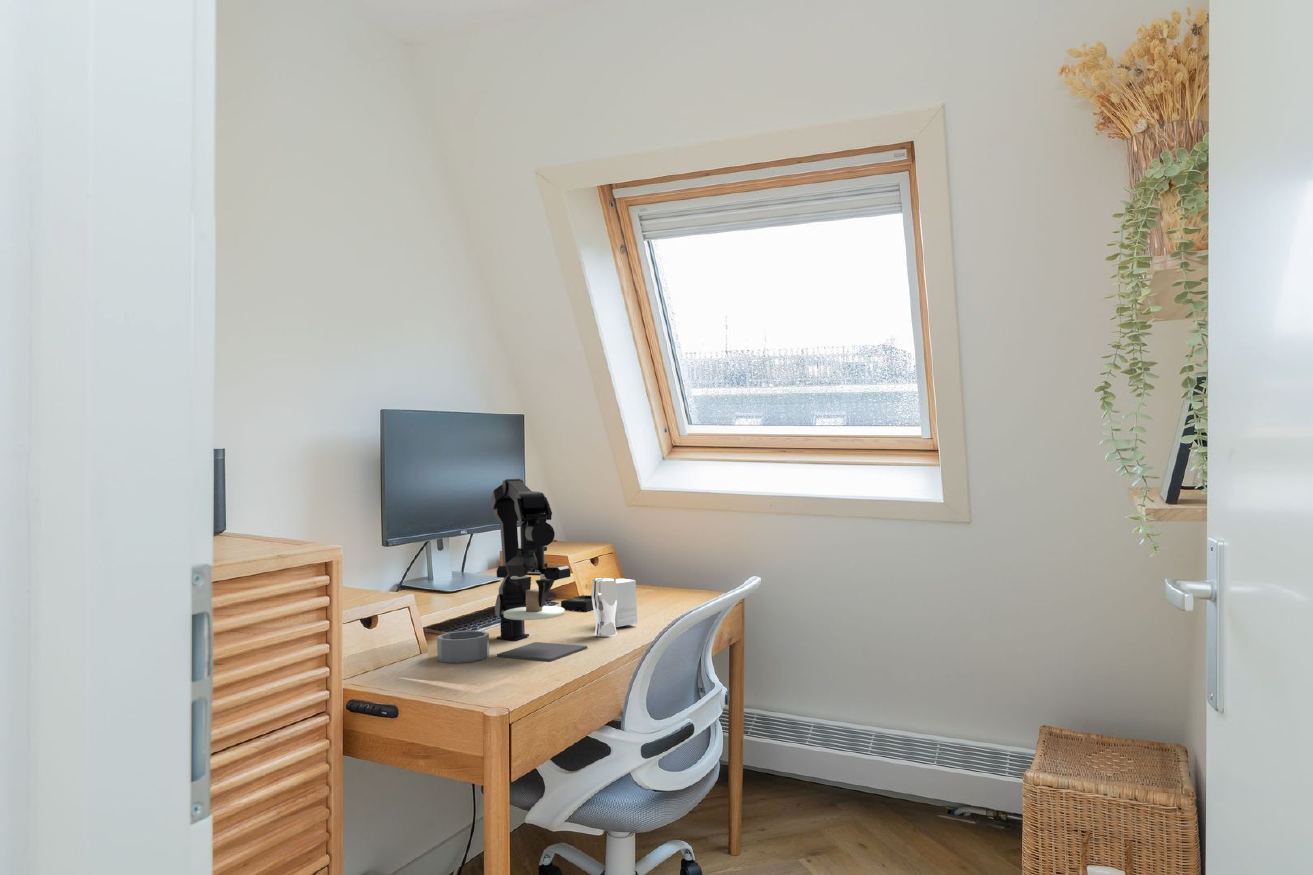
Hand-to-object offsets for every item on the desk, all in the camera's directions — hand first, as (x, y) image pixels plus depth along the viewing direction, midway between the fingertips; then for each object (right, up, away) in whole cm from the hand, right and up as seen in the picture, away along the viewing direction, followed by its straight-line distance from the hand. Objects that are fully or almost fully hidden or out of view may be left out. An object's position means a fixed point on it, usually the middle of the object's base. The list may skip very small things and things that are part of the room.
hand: (534, 606), depth 225 cm
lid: (0, -2, 0) cm, 2 cm away
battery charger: (+7, -14, +66) cm, 68 cm away
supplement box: (+20, -12, +37) cm, 44 cm away
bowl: (-17, -12, -4) cm, 21 cm away
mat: (+2, -11, 0) cm, 12 cm away
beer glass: (+17, -12, +21) cm, 29 cm away
